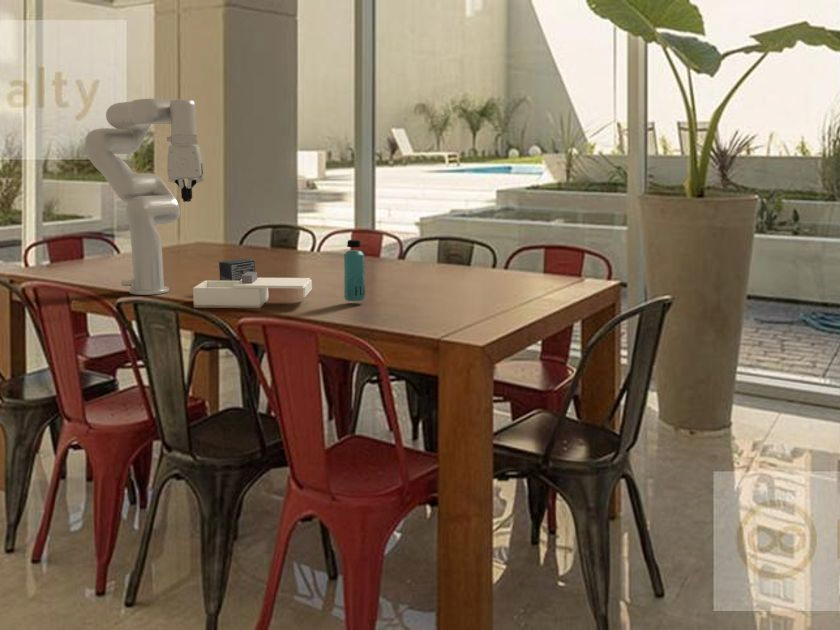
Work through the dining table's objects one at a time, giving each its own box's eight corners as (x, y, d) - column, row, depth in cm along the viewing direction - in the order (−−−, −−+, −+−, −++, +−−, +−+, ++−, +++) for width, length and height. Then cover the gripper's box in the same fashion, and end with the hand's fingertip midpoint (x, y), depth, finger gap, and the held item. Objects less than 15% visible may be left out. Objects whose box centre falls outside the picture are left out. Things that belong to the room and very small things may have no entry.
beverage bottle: (354, 306, 272) (354, 241, 268) (339, 304, 276) (338, 239, 272) (369, 303, 276) (369, 239, 272) (354, 301, 281) (354, 238, 277)
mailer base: (193, 307, 269) (193, 287, 268) (205, 299, 283) (205, 280, 282) (259, 308, 269) (259, 288, 268) (268, 299, 283) (267, 281, 281)
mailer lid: (233, 296, 268) (232, 277, 267) (244, 288, 283) (243, 269, 281) (304, 297, 267) (304, 277, 266) (311, 288, 282) (311, 270, 281)
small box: (244, 288, 304) (243, 257, 302) (256, 290, 300) (255, 259, 298) (219, 292, 296) (218, 261, 293) (232, 294, 292) (230, 263, 289)
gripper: (156, 140, 268) (159, 202, 271) (205, 141, 268) (208, 202, 271) (163, 140, 275) (166, 200, 279) (211, 141, 275) (214, 200, 279)
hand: (187, 201), depth 275 cm, fingers closed
